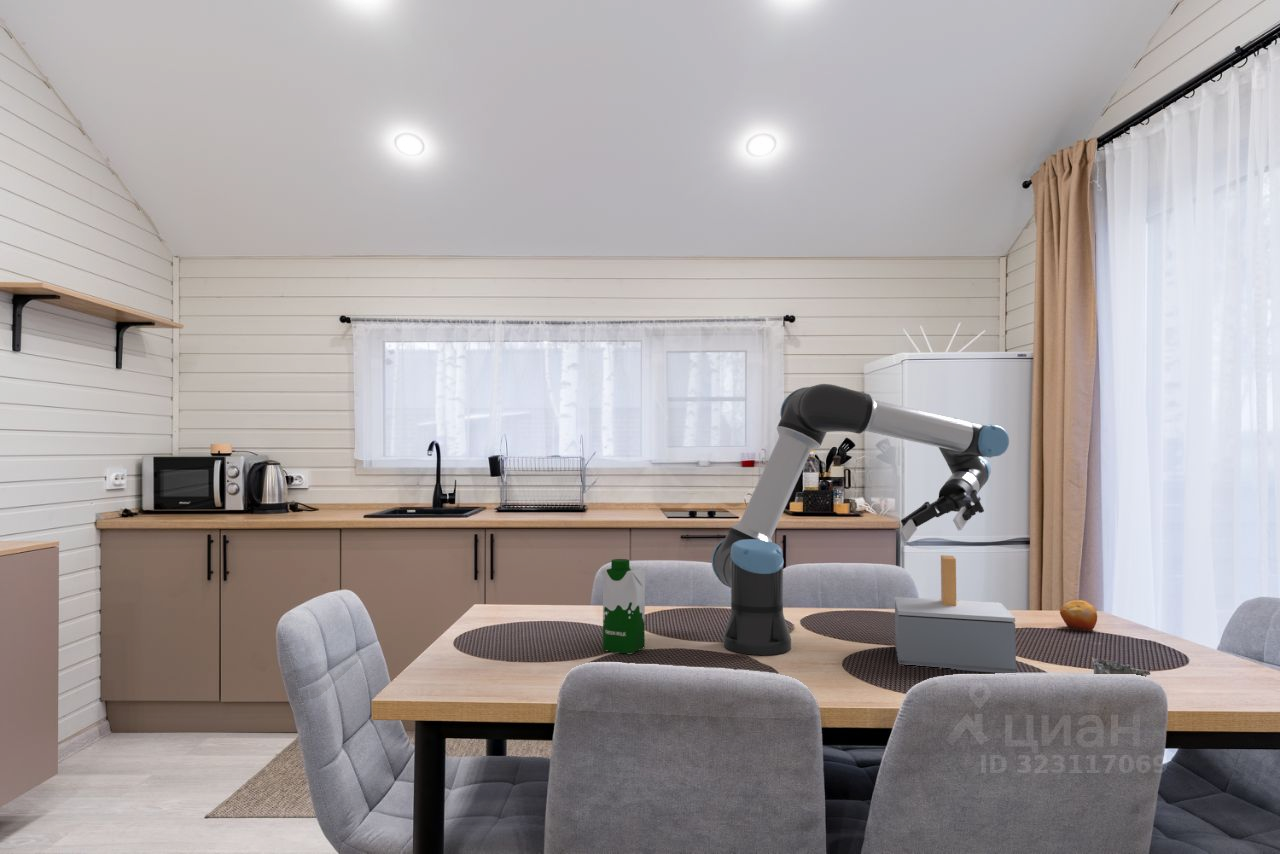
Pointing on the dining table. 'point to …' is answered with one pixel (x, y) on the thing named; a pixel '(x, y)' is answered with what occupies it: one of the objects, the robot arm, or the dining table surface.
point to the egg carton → (1116, 668)
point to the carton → (956, 643)
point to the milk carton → (623, 607)
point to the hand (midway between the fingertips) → (929, 531)
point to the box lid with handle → (952, 601)
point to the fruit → (1079, 615)
